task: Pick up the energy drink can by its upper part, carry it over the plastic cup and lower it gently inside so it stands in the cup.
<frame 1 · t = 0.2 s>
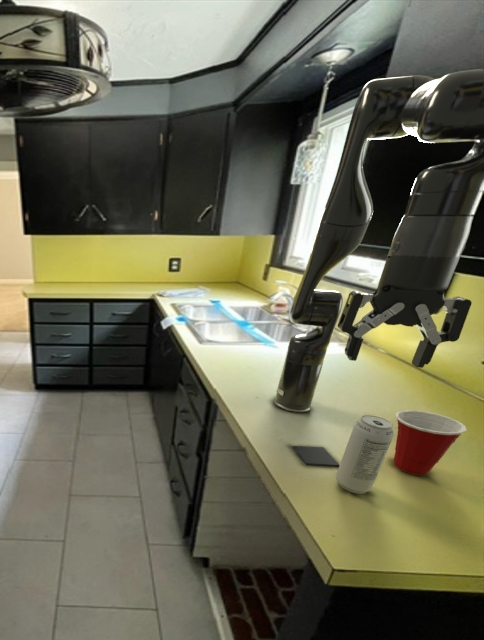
hand: (383, 362, 56), 29 cm above the worktop, tool pointing down, fingers open, 8 cm apart
energy drink can: (351, 486, 74), on the worktop
coaster: (314, 456, 83), on the worktop
plastic cup: (408, 467, 80), on the worktop
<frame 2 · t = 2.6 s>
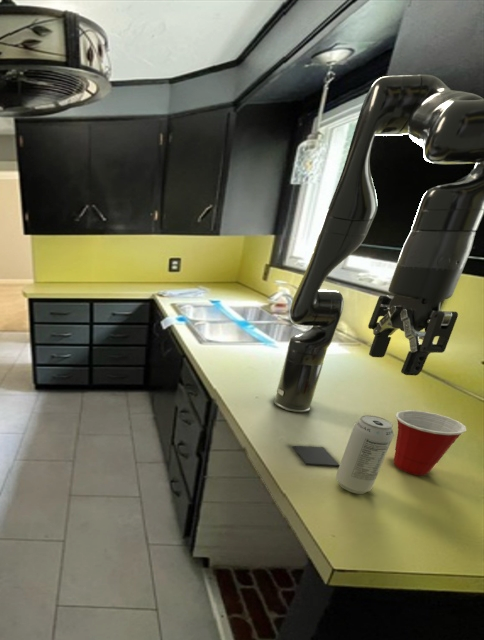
hand: (391, 364, 61), 27 cm above the worktop, tool pointing down, fingers open, 8 cm apart
nothing on the worktop moved.
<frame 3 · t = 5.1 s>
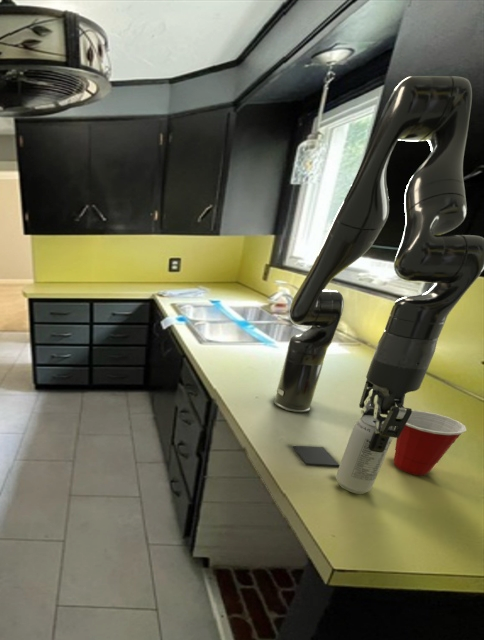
hand: (369, 441, 69), 11 cm above the worktop, tool pointing down, fingers closed on energy drink can, 6 cm apart
energy drink can: (351, 486, 74), on the worktop, touching gripper
everything else where it was.
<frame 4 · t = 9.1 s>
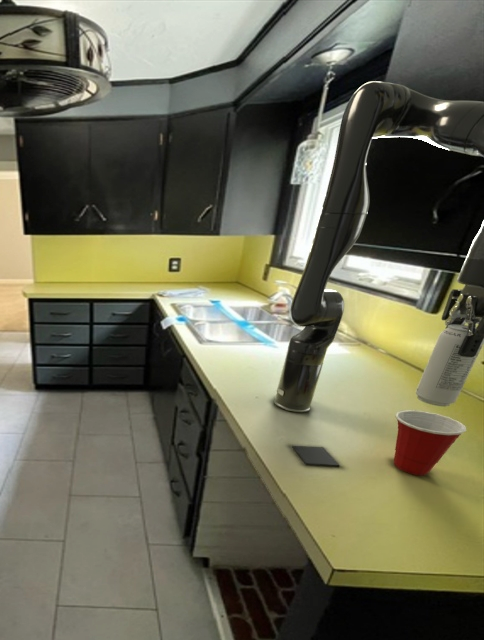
hand: (455, 350, 68), 27 cm above the worktop, tool pointing down, fingers closed on energy drink can, 6 cm apart
energy drink can: (432, 401, 72), point 16 cm above the worktop, touching gripper
everything else where it was.
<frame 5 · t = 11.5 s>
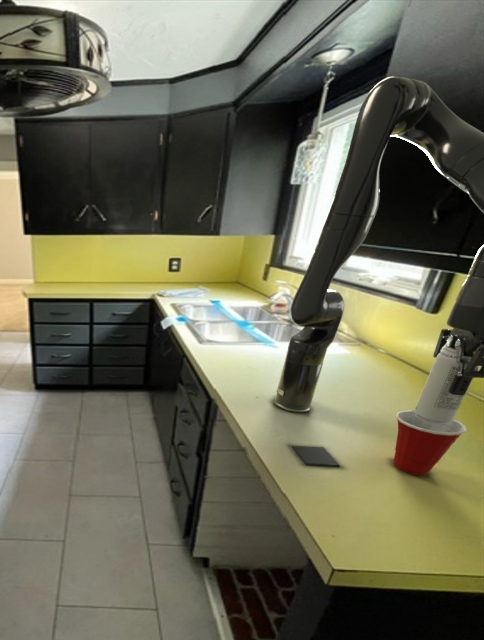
hand: (446, 387, 72), 19 cm above the worktop, tool pointing down, fingers closed on energy drink can, 6 cm apart
energy drink can: (430, 419, 75), point 12 cm above the worktop, touching gripper, plastic cup
plastic cup: (408, 467, 80), on the worktop, touching energy drink can
when the fingers open (15 cm above the worktop, at t = 13.4 s): energy drink can stays where it is, resting on plastic cup.
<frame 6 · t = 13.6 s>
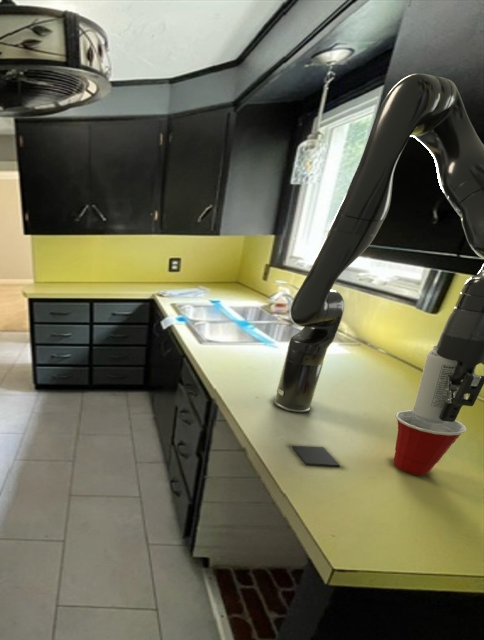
hand: (435, 411, 74), 14 cm above the worktop, tool pointing down, fingers open, 7 cm apart
energy drink can: (430, 419, 75), point 12 cm above the worktop, touching plastic cup
everything else where it was.
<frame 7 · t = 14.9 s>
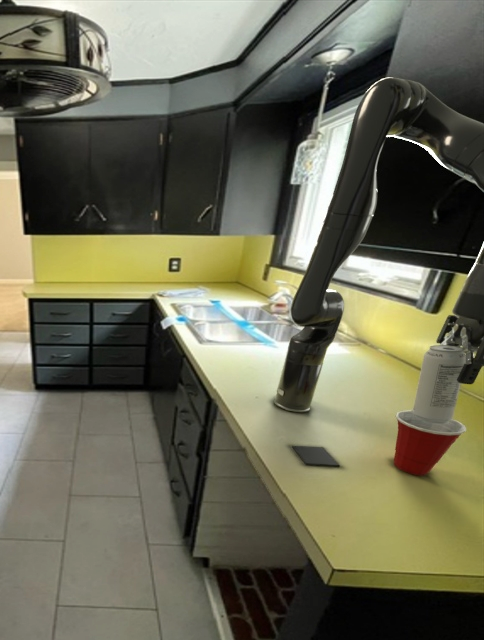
hand: (451, 375, 71), 22 cm above the worktop, tool pointing down, fingers open, 8 cm apart
energy drink can: (431, 419, 75), point 12 cm above the worktop, touching gripper, plastic cup
everything else where it was.
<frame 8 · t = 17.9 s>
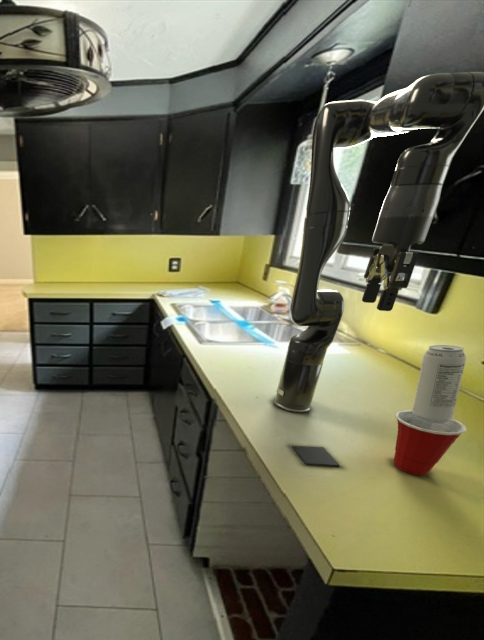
hand: (375, 306, 71), 34 cm above the worktop, tool pointing down, fingers open, 8 cm apart
energy drink can: (430, 419, 75), point 12 cm above the worktop, touching plastic cup
everything else where it was.
at the end: energy drink can 0.4 cm from the plastic cup (horizontally); energy drink can tilted 9°; the gripper is holding nothing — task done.
